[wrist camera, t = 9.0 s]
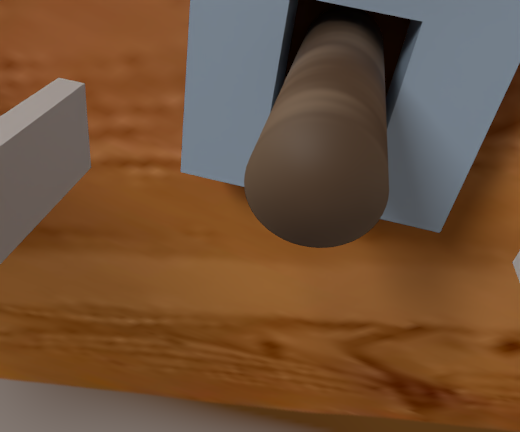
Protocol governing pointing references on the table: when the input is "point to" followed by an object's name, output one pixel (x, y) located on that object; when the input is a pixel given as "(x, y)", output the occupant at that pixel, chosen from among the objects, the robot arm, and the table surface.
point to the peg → (325, 137)
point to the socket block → (397, 100)
